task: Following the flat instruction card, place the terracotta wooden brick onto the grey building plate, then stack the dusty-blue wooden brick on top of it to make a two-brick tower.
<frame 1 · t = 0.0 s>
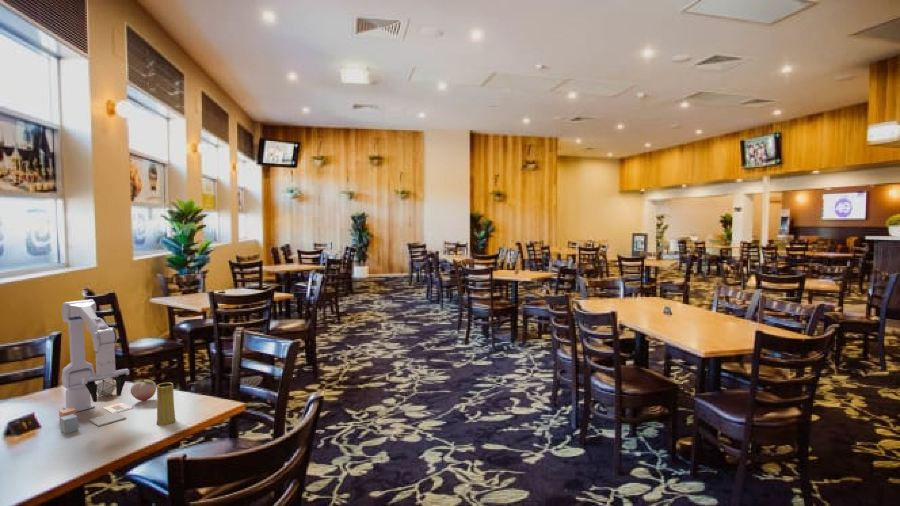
hand: (107, 398, 182), 10 cm above the table, fingers open, 7 cm apart
game die: (106, 396, 214), on the table
card: (117, 408, 199), on the table
decorative fruit: (144, 401, 208), on the table
plate: (107, 419, 188), on the table
brick terracotta: (68, 423, 185), on the table
vase: (166, 422, 186), on the table
brick blue: (69, 430, 178), on the table
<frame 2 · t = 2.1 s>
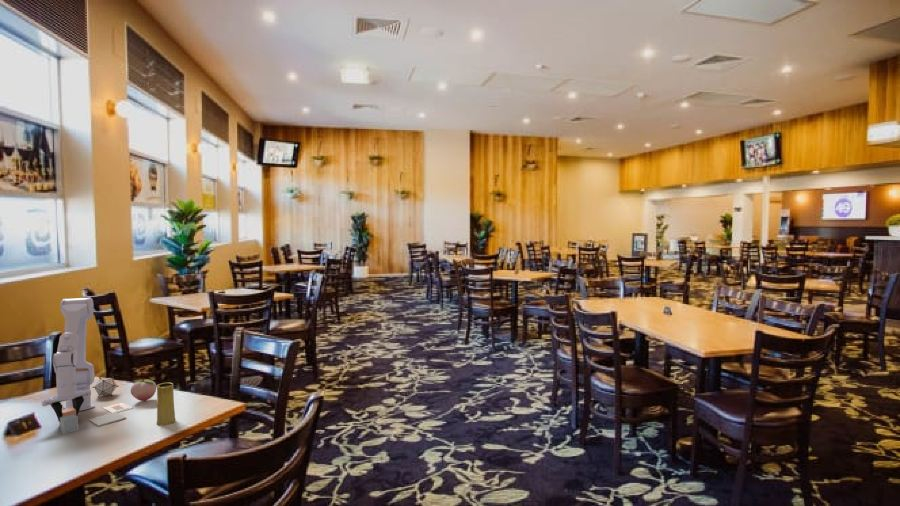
hand: (68, 419, 184), 1 cm above the table, fingers closed on brick terracotta, 4 cm apart
brick terracotta: (68, 423, 185), on the table, touching gripper
everything else where it was.
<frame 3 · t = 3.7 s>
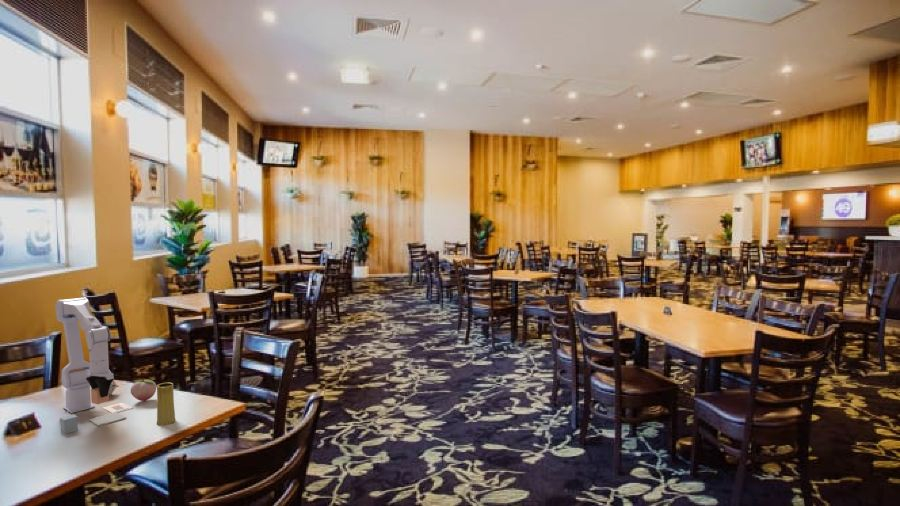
hand: (100, 395, 187), 9 cm above the table, fingers closed on brick terracotta, 4 cm apart
brick terracotta: (100, 401, 187), point 7 cm above the table, touching gripper
everything else where it was.
when the fingers open (3 cm above the table, at t = 5.5 s): brick terracotta stays where it is, resting on plate.
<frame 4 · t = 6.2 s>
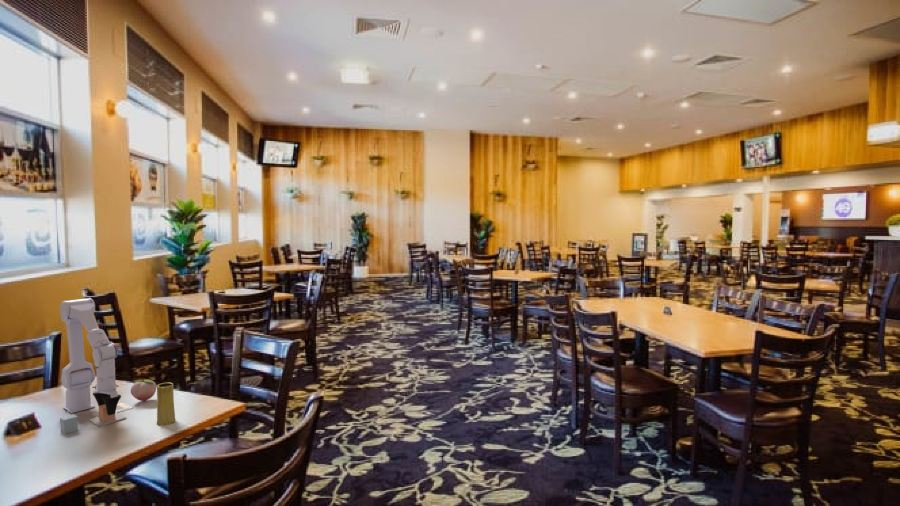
hand: (107, 412, 188), 3 cm above the table, fingers open, 7 cm apart
brick terracotta: (107, 418, 188), resting on plate
everything else where it was.
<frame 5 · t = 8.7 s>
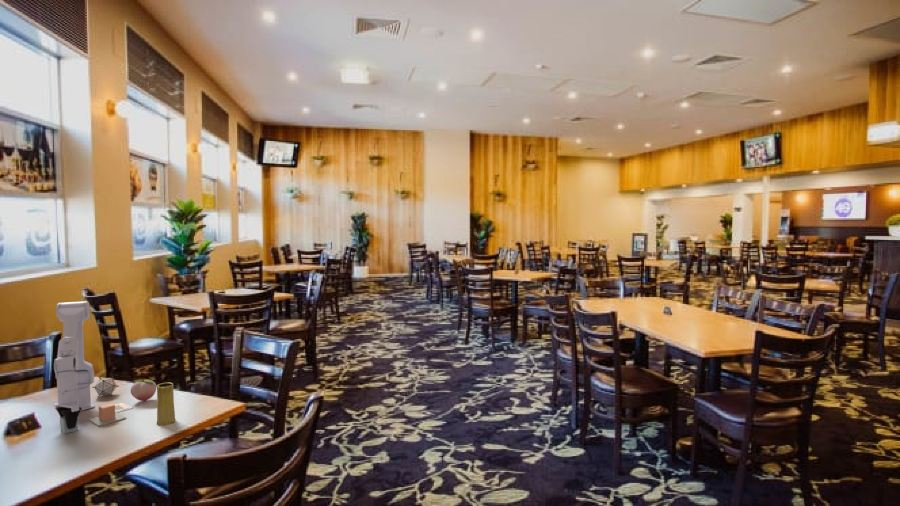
hand: (69, 426, 178), 1 cm above the table, fingers closed on brick blue, 4 cm apart
brick blue: (69, 430, 178), on the table, touching gripper
everything else where it was.
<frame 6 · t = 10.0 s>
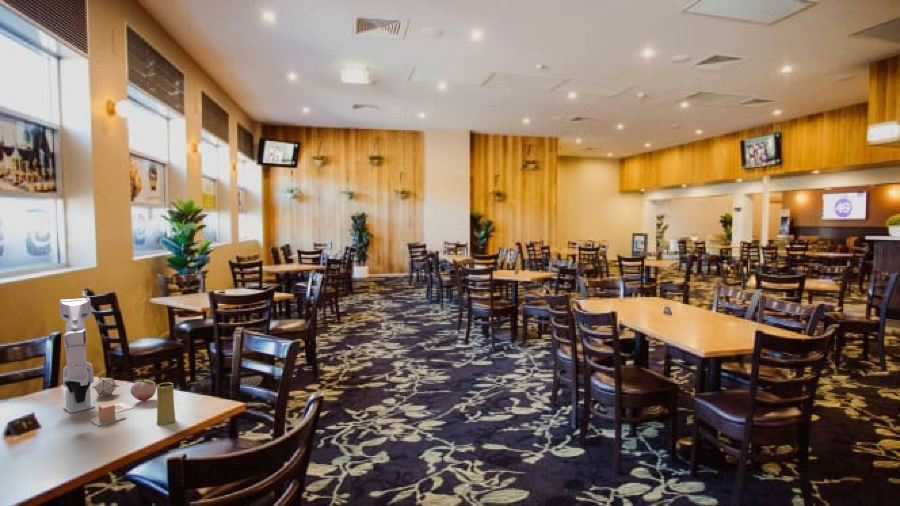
hand: (78, 401, 180), 10 cm above the table, fingers closed on brick blue, 4 cm apart
brick blue: (77, 406, 180), point 8 cm above the table, touching gripper
everything else where it was.
when the fingers open (8 cm above the table, at t = 11.4 s): brick blue stays where it is, resting on brick terracotta.
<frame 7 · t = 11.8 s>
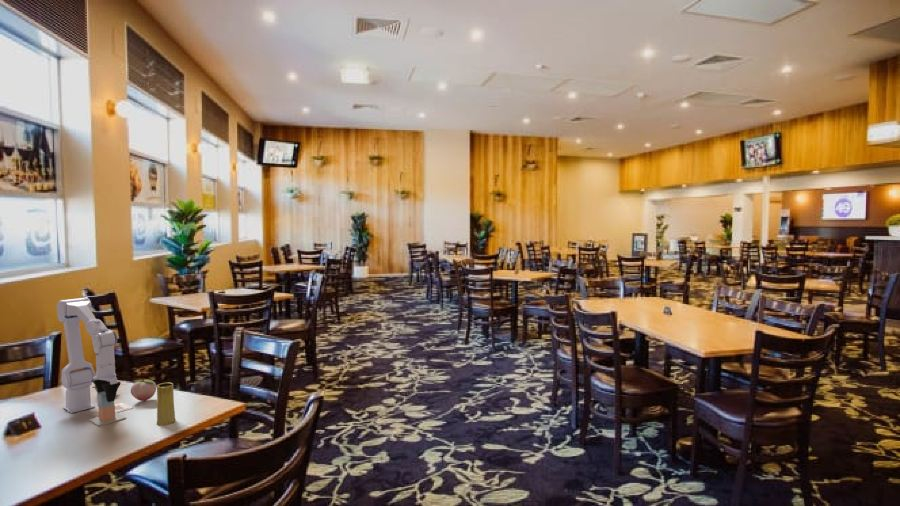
hand: (106, 399, 187), 8 cm above the table, fingers open, 7 cm apart
brick terracotta: (107, 418, 188), resting on plate, touching brick blue
brick blue: (105, 405, 187), point 5 cm above the table, touching brick terracotta
everything else where it was.
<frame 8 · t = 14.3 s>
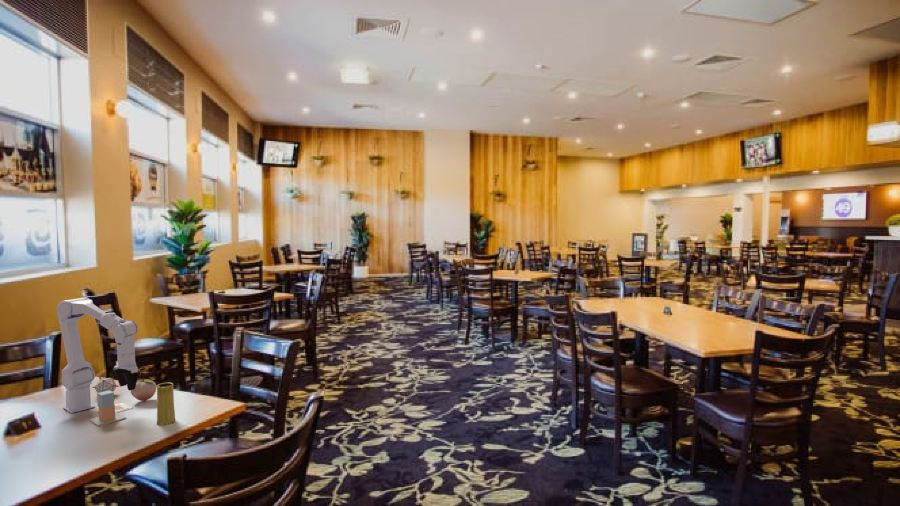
hand: (127, 387, 193), 10 cm above the table, fingers open, 7 cm apart
nothing on the table moved.
at the end: brick blue 0.3 cm off-centre on the brick terracotta, point 5.0 cm above the brick terracotta's base; brick terracotta inside the target area on the plate (0.2 cm from its centre), point 0.5 cm above the plate's base; brick blue tilted 0° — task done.
